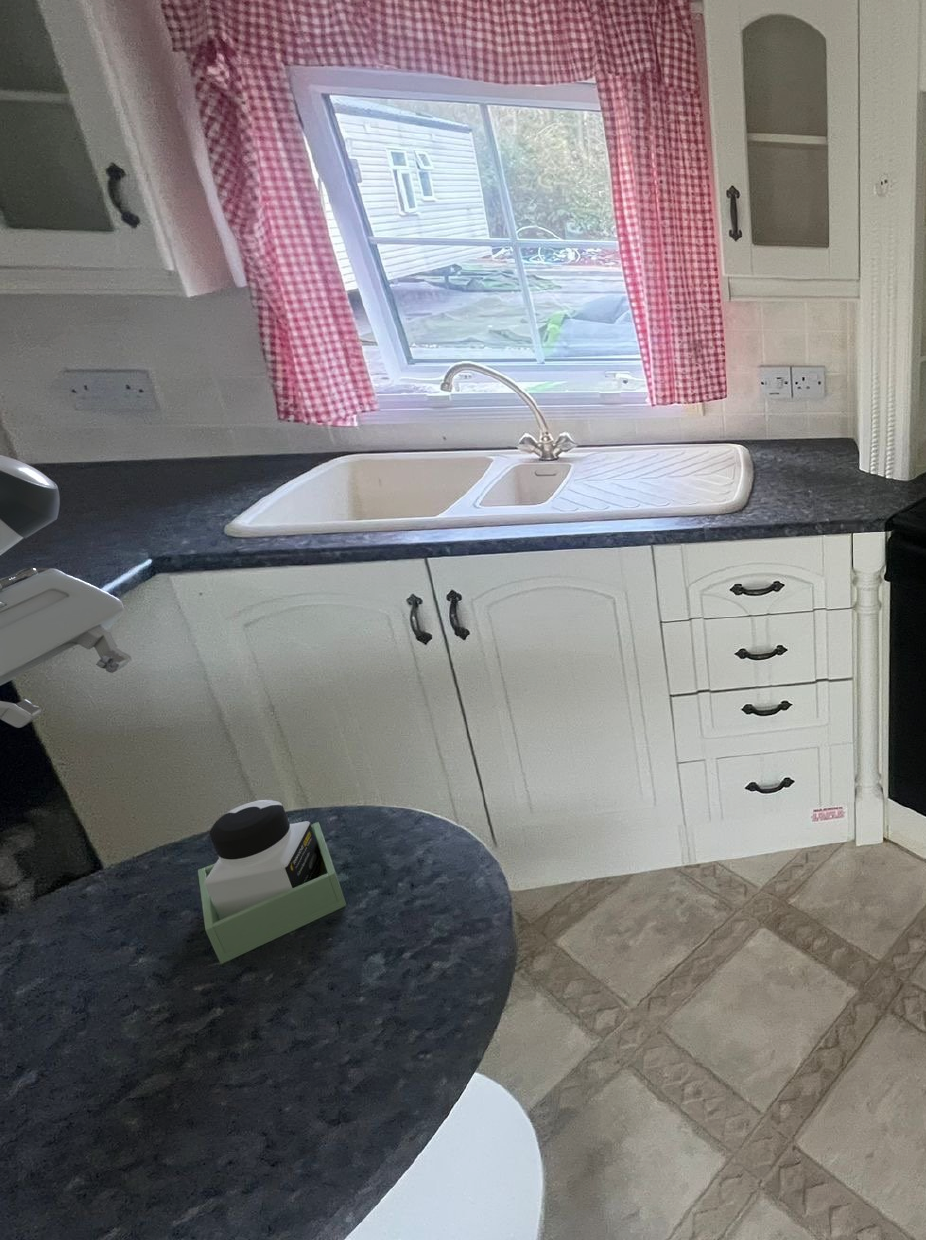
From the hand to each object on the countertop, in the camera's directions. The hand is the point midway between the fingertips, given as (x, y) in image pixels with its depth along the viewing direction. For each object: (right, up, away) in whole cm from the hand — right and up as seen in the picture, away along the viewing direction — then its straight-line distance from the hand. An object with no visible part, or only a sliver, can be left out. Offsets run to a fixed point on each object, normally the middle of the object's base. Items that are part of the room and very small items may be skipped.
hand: (80, 691), depth 80 cm
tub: (+13, -27, +9) cm, 31 cm away
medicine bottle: (+13, -26, +9) cm, 30 cm away
